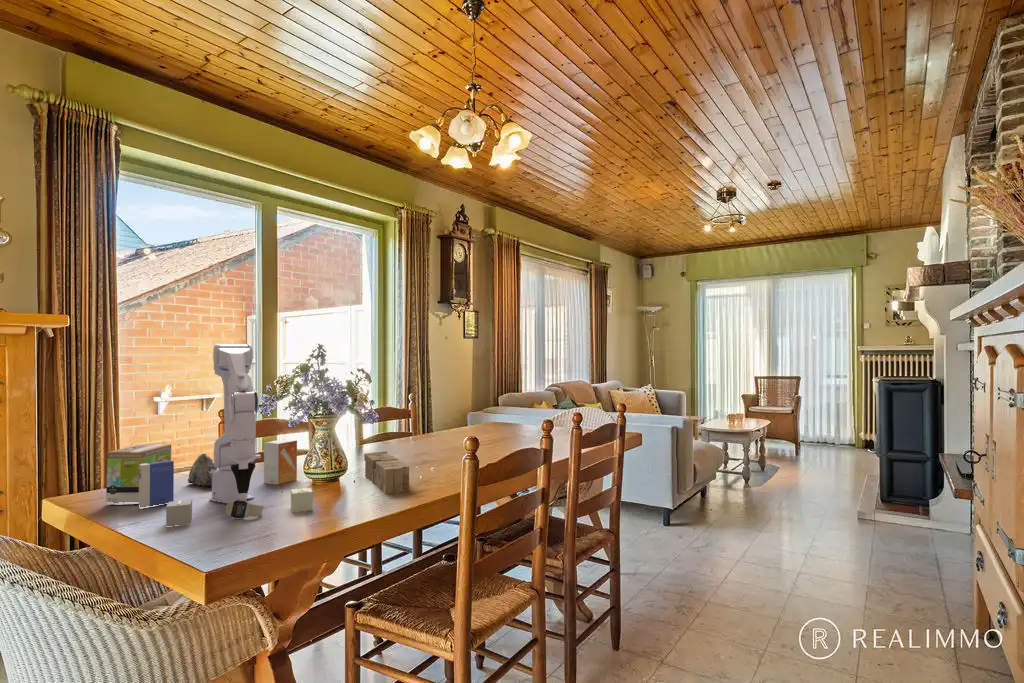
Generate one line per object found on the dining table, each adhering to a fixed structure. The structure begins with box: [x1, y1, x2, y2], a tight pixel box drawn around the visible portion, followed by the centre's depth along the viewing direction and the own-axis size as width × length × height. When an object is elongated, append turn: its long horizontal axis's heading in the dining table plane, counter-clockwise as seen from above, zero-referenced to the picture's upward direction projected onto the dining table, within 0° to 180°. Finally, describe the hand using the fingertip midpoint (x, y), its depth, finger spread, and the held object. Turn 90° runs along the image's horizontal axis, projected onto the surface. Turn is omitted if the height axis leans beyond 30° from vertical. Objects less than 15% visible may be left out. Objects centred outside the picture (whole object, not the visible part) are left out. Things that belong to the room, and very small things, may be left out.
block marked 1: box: [165, 499, 193, 527], centre depth 139 cm, size 5×5×5 cm
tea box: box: [105, 443, 172, 503], centre depth 164 cm, size 15×10×15 cm
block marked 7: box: [290, 487, 314, 513], centre depth 151 cm, size 5×5×5 cm
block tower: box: [363, 450, 410, 495], centre depth 181 cm, size 8×8×29 cm
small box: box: [263, 438, 298, 486], centre depth 185 cm, size 8×6×13 cm
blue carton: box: [138, 459, 175, 507], centre depth 156 cm, size 8×3×12 cm, turn 139°
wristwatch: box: [224, 499, 264, 520], centre depth 145 cm, size 9×6×5 cm
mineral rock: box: [187, 453, 218, 487], centre depth 179 cm, size 13×11×10 cm
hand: (243, 492), depth 145 cm, fingers closed
